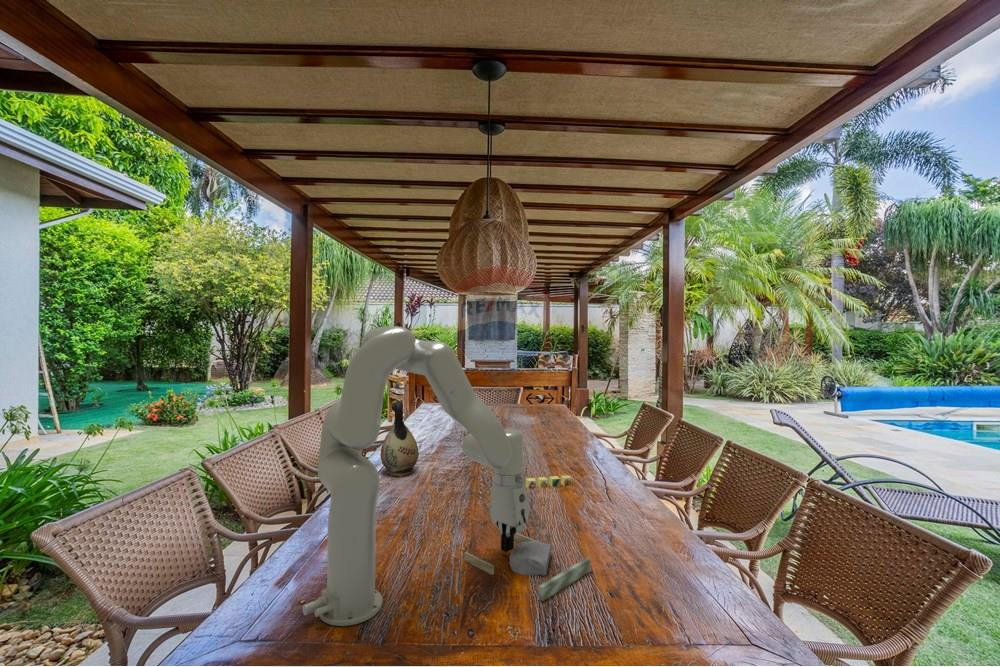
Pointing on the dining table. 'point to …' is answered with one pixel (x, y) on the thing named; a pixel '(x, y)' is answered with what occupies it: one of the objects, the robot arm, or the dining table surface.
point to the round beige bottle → (399, 446)
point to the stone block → (530, 558)
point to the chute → (550, 585)
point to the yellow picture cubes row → (543, 481)
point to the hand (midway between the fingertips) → (507, 549)
